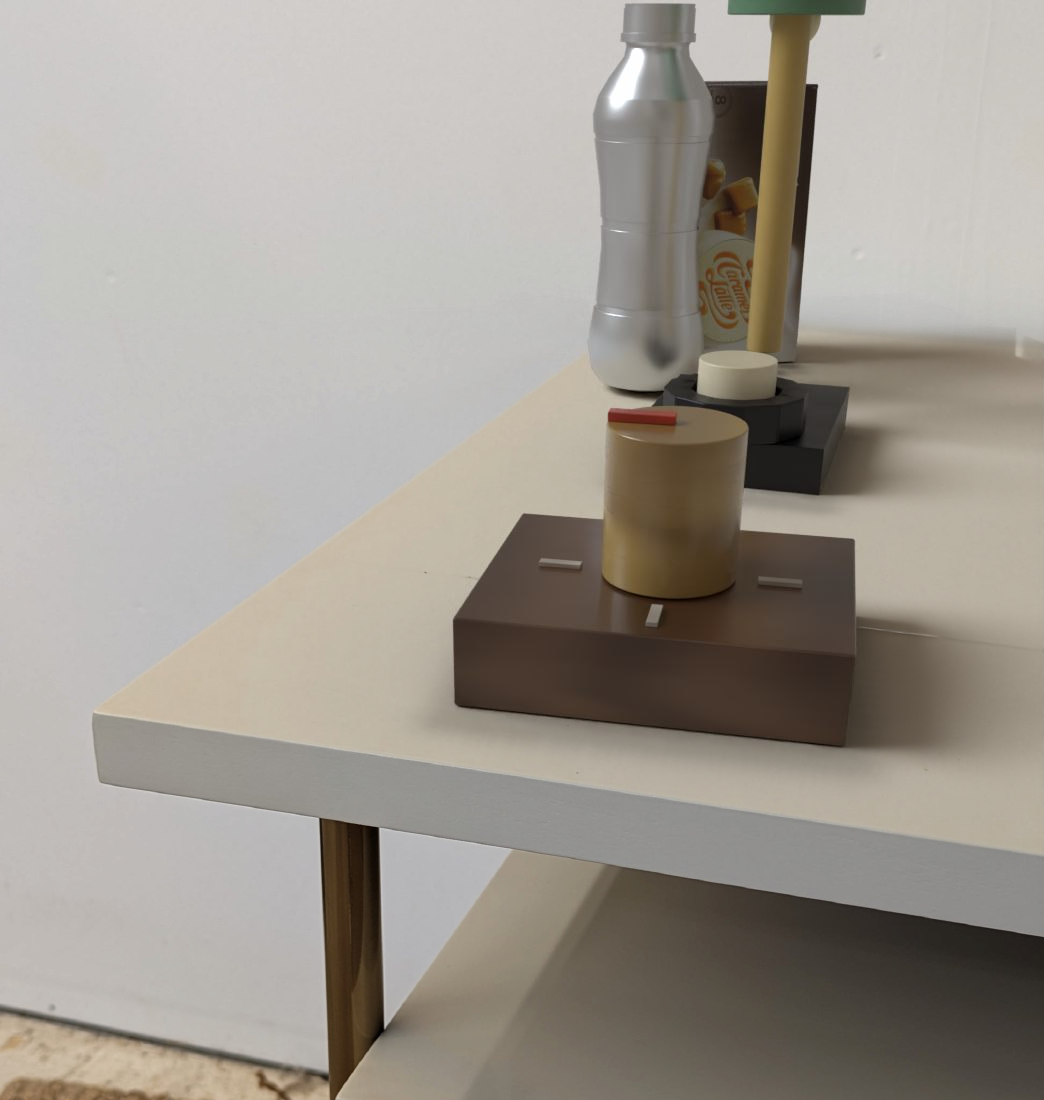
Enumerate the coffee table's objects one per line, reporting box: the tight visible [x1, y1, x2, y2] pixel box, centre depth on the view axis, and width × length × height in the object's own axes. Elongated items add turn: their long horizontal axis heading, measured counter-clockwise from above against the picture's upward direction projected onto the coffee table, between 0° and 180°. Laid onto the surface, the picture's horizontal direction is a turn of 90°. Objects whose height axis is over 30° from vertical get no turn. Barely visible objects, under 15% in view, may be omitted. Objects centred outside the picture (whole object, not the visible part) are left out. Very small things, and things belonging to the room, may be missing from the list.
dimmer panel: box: [452, 512, 857, 747], centre depth 44 cm, size 12×10×3 cm
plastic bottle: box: [587, 2, 716, 393], centre depth 73 cm, size 6×7×20 cm
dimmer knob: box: [601, 406, 749, 599], centre depth 42 cm, size 4×4×5 cm
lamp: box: [726, 0, 867, 353], centre depth 65 cm, size 6×6×20 cm
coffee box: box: [698, 80, 819, 363], centre depth 82 cm, size 9×6×16 cm
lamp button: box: [697, 350, 779, 400], centre depth 62 cm, size 4×4×2 cm
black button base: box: [650, 373, 851, 496], centre depth 65 cm, size 13×9×4 cm
